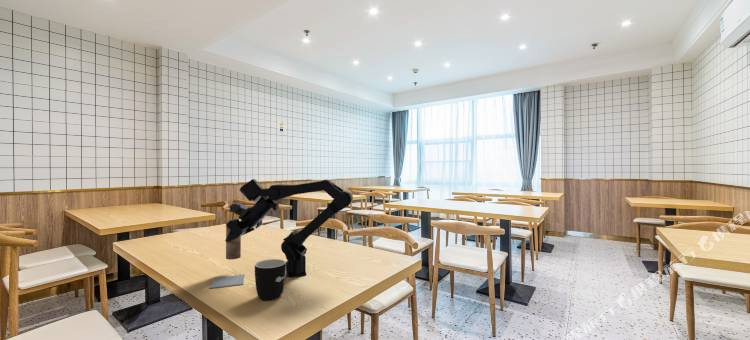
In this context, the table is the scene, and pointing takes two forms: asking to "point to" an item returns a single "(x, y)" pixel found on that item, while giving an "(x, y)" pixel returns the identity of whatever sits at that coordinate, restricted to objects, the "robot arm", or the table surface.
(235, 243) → the post
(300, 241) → the robot arm
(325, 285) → the table surface
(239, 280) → the mat
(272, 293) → the mug
